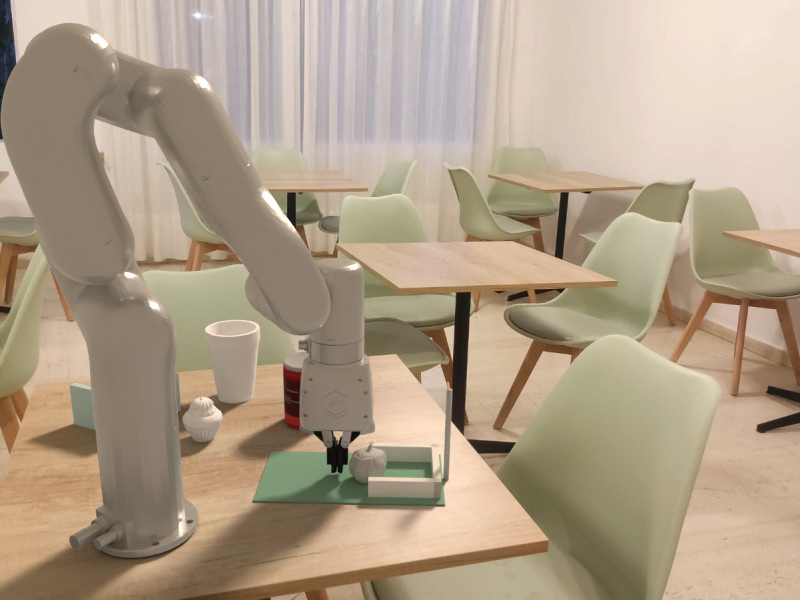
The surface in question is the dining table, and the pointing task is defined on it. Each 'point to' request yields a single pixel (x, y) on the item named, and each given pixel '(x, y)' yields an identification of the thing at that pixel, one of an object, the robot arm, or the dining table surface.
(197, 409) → the muffin
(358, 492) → the felt mat
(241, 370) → the foam cup
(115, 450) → the robot arm
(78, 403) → the right angle wall
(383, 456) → the garlic
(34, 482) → the dining table surface
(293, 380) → the canned food
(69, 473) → the dining table surface
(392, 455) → the white u-shaped frame
